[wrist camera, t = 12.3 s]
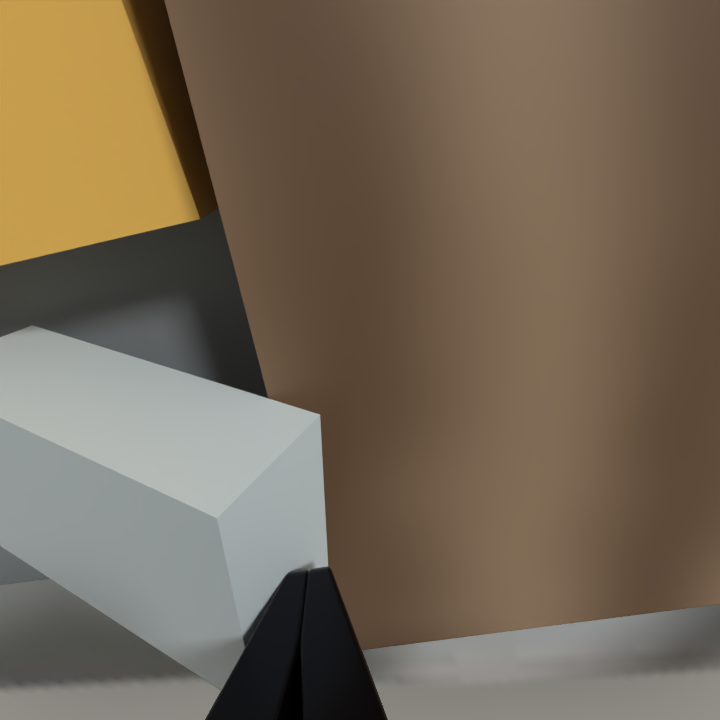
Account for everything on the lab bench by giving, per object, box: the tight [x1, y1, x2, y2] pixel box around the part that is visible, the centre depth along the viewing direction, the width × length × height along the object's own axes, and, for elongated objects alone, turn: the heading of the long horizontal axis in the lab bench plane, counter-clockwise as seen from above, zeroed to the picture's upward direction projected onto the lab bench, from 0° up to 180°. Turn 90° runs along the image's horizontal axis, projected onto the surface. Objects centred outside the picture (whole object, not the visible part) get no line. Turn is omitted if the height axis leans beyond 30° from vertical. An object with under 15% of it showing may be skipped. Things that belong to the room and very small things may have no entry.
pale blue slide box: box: [0, 325, 328, 690], centre depth 10 cm, size 8×5×2 cm, turn 88°
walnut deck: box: [164, 0, 720, 650], centre depth 9 cm, size 16×18×4 cm
